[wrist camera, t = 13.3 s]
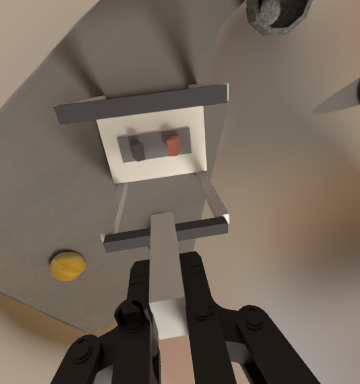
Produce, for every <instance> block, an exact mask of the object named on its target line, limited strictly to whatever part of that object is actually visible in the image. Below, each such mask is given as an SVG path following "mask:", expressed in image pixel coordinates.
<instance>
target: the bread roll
mask: <svg viewBox="0 0 360 384" xmlns="http://www.w3.org/2000/svg"><path fill="white" fill-rule="evenodd" d="M85 268H86V262H85V260H84V259H83V257H82V256H81V255H80V254H78V253H74V252H62V253H60V254H58V255H56V256H55V257H54V258H53V260H52V262H51V264H50V271H51V274H52V275H53V276H54V277H55V278H57V279H59V280H62V281H69V280H73V279H75V278H77V277H78V276H79V274H80V272H82V271H83V270H84V269H85Z"/></svg>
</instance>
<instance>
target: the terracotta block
mask: <svg viewBox="0 0 360 384" xmlns="http://www.w3.org/2000/svg"><path fill="white" fill-rule="evenodd" d="M166 142H167V149H168V156H177V155H178V154H179V153H180V151H181V149H180V140H179V136H171V137H170V138H169V139H168V140H167V141H166Z"/></svg>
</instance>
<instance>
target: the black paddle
mask: <svg viewBox="0 0 360 384" xmlns="http://www.w3.org/2000/svg"><path fill="white" fill-rule="evenodd" d="M130 146H131V151H132V155H133V158H134V159H135V160H136V161H137V162H139V161H143V160H146V158H145V153H144V148H143V144H142V143H140V142H139V141H135V142H130Z"/></svg>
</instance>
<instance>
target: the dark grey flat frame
mask: <svg viewBox="0 0 360 384" xmlns="http://www.w3.org/2000/svg"><path fill="white" fill-rule="evenodd" d="M221 103H227V84H220V85H213V86H205V87H197V88H189V89H181V90H173V91H165V92H157V93H150V94H142V95H134V96H126V97H118V98H110V99H102V100H94V101H87V102H79V103H71V104H63V105H57V106H53V107H54V110H55V112H56V115H57V118H58V121H59V123H60V125H61V124H69V123H76V122H84V121H91V120H99V119H107V118H114V117H122V116H129V115H137V114H145V113H152V112H160V111H167V110H175V109H183V108H190V107H198V106H205V105H213V104H221ZM175 230H176V236H177V241H182V240H188V239H194V238H200V237H206V236H212V235H218V234H225V233H228V222H227V220H226V218H225V217H224V216H223V217H216V218H211V219H204V220H197V221H191V222H185V223H179V224H175ZM150 238H151V228H147V229H141V230H134V231H128V232H122V233H116V234H109V235H105V238H104V241H103V245H104V248H105V251H106V253H108V252H114V251H120V250H126V249H133V248H139V247H145V246H150Z"/></svg>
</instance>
